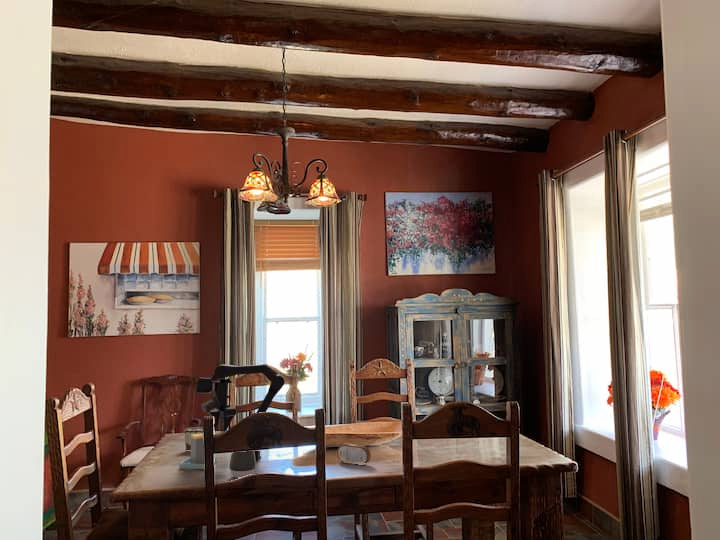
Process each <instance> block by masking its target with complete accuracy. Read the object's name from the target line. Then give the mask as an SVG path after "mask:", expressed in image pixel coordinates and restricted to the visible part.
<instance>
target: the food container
mask: <svg viewBox="0 0 720 540" xmlns="http://www.w3.org/2000/svg"><path fill="white" fill-rule="evenodd" d="M203 427H204V426H195V427H194V426H193V427H187V428H184V430H183V434H184V439H185V441H184V444H185V451H186V450H191V435H192V434H199V433H203Z"/></svg>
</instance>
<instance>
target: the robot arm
mask: <svg viewBox="0 0 720 540" xmlns="http://www.w3.org/2000/svg"><path fill="white" fill-rule="evenodd" d="M252 374H253V375H257V374H262V375H263V376H265V378H266V379H267V380H268V381H270V385H269V386H268V390H267V392H266V395H265V396H264V397H263V400H262V402H261V403H260V405H259V407H258V409H257V411H256V412H255V414H256V413H259V412H265V413H267V411H268V409H269V407H270V405H271V403H272V401H273V399H274V398H275V397H276V395H277V394H278V393H280V390H281V389H282V388H283V387H284V386H285V383H286V379H285V377H284V375H283V374H278V373H277V372H276V370H274V369H273V368H271V367H270V365H269V364H267V363H262V364H249V365H248V364H247V365H232V364H227V363H226V364H225V363H223V364H220V365H218V366H217V367H215V369H214V373H213V374H212V376H211V377H198V380H197V385H196V393H197V394H211V393H212V392H214V395H212V397H211V399H209V400H208V401H206V402H203V403H201V405H200V406H201V410H202V412H203V413H204V412H205V413H207V414H209V415H210V417H211V416H214V417H215V424H214V425H213V428H214V429H216V428H218V425H219V423H220V422H219V421H220V419H221V420H222V430H223V432H227V430H228V429H229V426H230V424H231V422H232V421H233V419H234V417H235V416H236V415H237V413H238V412H237V411H238V410H237V409H236V408H235V407H233V406H230V404H228V402H229V399H230V397H231V395H229V384H233V382H234V380H233V379H231V377H233V376H237V375H252ZM216 380H217V381H216ZM254 452H255V458H256V462H258V461H259V460H260V459H261V458H262V456H261V450H260V451H254Z"/></svg>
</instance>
